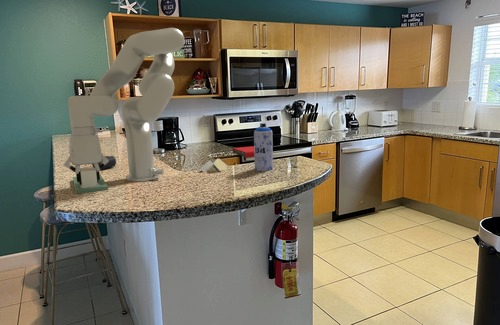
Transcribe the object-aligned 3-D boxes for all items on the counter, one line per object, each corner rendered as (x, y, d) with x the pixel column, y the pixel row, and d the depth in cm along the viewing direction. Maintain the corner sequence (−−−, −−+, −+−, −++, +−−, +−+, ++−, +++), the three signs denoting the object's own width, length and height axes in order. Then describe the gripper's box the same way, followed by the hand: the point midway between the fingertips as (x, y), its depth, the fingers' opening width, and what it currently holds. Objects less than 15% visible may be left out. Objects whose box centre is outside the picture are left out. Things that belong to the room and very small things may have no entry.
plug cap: (80, 183, 130) (79, 168, 129) (95, 181, 132) (93, 166, 131) (82, 187, 123) (80, 171, 122) (97, 185, 125) (95, 170, 124)
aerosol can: (250, 173, 145) (249, 123, 142) (259, 169, 152) (258, 122, 148) (268, 174, 141) (267, 124, 138) (276, 171, 148) (275, 122, 145)
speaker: (110, 166, 170) (91, 170, 163) (108, 155, 170) (89, 158, 162) (118, 166, 166) (99, 170, 159) (116, 155, 166) (97, 158, 158)
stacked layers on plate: (214, 185, 147) (223, 177, 144) (200, 168, 146) (208, 161, 144) (223, 175, 156) (232, 168, 153) (210, 159, 155) (218, 152, 153)
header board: (73, 180, 140) (72, 177, 140) (100, 177, 145) (100, 174, 145) (76, 193, 120) (76, 190, 119) (108, 189, 124) (107, 186, 124)
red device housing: (232, 157, 189) (232, 147, 188) (257, 154, 194) (257, 145, 193) (245, 162, 172) (245, 152, 172) (272, 159, 178) (272, 149, 177)
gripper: (108, 129, 132) (112, 178, 135) (55, 132, 124) (61, 184, 127) (110, 131, 125) (115, 182, 128) (56, 134, 117) (62, 188, 120)
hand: (88, 182), depth 127 cm, fingers closed on plug cap, 4 cm apart
